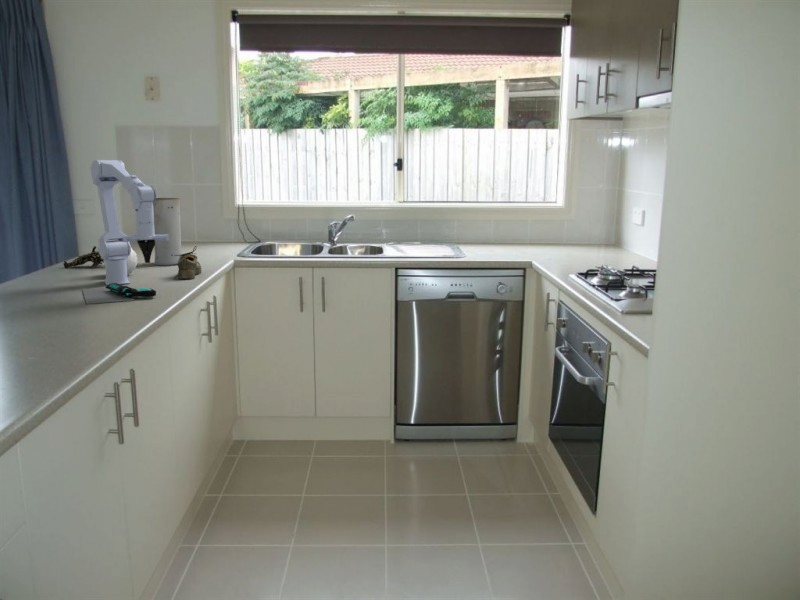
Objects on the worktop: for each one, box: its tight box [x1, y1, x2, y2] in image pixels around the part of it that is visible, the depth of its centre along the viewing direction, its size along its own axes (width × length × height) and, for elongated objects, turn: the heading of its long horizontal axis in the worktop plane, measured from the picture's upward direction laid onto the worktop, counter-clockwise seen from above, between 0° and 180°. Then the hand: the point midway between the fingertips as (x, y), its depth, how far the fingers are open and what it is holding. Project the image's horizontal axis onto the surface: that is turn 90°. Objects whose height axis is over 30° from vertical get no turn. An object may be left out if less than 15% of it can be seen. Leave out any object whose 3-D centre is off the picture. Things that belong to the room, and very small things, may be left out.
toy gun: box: [104, 283, 157, 299], centre depth 225 cm, size 3×20×10 cm
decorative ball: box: [103, 247, 138, 276], centre depth 259 cm, size 12×12×12 cm
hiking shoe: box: [176, 245, 202, 280], centre depth 262 cm, size 8×20×12 cm, turn 8°
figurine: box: [62, 245, 104, 269], centre depth 277 cm, size 10×8×18 cm
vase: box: [153, 197, 183, 267], centre depth 286 cm, size 13×14×28 cm
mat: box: [82, 287, 135, 305], centre depth 224 cm, size 24×14×1 cm, turn 27°
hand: (147, 262), depth 228 cm, fingers closed
